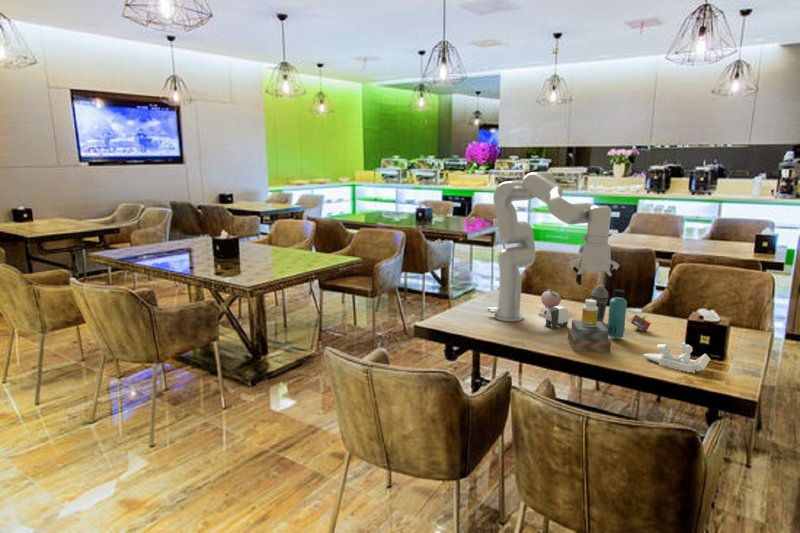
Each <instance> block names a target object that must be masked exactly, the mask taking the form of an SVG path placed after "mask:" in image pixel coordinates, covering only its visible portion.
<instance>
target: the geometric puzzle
mask: <svg viewBox="0 0 800 533" xmlns="http://www.w3.org/2000/svg"><path fill="white" fill-rule="evenodd" d="M647 317H648V316H647V315H644V316H642V317H641V316H640V315H639V314H635V315H634V316H632V317H631V322H630V324H631V325H633V329H634V332H638V331H639V330H641V331H643V332H646V333H647V331H648V330H649V328H650V326H651V324H652V323H651V322H649V320H648V319H646V318H647ZM635 327H636V328H635Z"/></svg>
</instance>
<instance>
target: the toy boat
mask: <svg viewBox="0 0 800 533" xmlns="http://www.w3.org/2000/svg"><path fill="white" fill-rule="evenodd" d="M656 348H657V350H658V353H644V354H643V357H644V358H646V359H648V360H650V361H652V362H655V363H658V366H660V365H661V366H662V365H663V366H662V367H665V366H668V367H667V368H670V367H671V368H670V369H673V368H674V370H677V369H679V371H681V370H683V371H682V372H685V371H687V372H686V373H689V372H693V373H692V374H695V373H696V372H700V371H704V370H705V368H706V367H707V365H708V363H709V362H710V361H711V358H710V357H709V356H708V354H707V353H704V354H702V355H701V356H700V357H698V358H696V360H695V359H691V353H692V352H693V346H691V345H690V344H686V342H685V341H682V342H681V344H680V349H679V350H681V352H683V353H682V354H678V355H674V354H673V352H672V349H671V347H670V346H669V345H668V344H667V343H664V344H663V343H658V344H657V345H656ZM695 370H696V371H695Z"/></svg>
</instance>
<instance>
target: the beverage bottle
mask: <svg viewBox="0 0 800 533" xmlns="http://www.w3.org/2000/svg"><path fill="white" fill-rule="evenodd" d="M625 295H626V291H625V290H624V289H614V290H613V296H614V297H612V298H610V300H609V306H608V313H607V314H608V316H607V318H608V319H607V325H606V328H607V330H608V337H610V338H615V339H617V338H619V339H621V338H623V337H624V335H625V325H626V314H627V313H626V312H627V305H628V301H627V300H626V299H625V298H623V297H625Z"/></svg>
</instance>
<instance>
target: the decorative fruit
mask: <svg viewBox="0 0 800 533" xmlns="http://www.w3.org/2000/svg"><path fill="white" fill-rule="evenodd" d="M540 301H541V303H542V304H543V305H544V307H545V306H546V307H547V308H548V307H549V308H552V307H555V306H560V303H561V302H562V297H561V295H560V293H558V292H556V291H554V290H553V288H550V289H547V290H546V291H544V292H542V294H541V296H540Z"/></svg>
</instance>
